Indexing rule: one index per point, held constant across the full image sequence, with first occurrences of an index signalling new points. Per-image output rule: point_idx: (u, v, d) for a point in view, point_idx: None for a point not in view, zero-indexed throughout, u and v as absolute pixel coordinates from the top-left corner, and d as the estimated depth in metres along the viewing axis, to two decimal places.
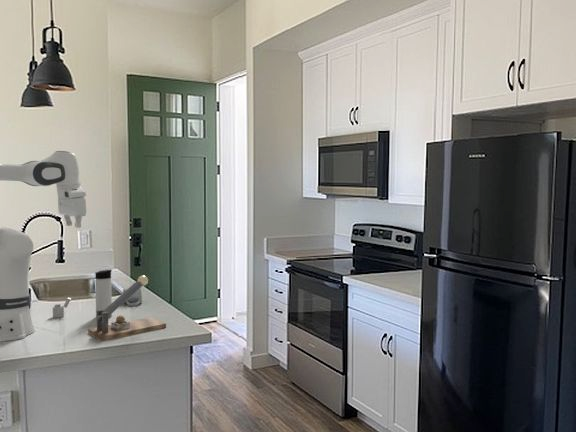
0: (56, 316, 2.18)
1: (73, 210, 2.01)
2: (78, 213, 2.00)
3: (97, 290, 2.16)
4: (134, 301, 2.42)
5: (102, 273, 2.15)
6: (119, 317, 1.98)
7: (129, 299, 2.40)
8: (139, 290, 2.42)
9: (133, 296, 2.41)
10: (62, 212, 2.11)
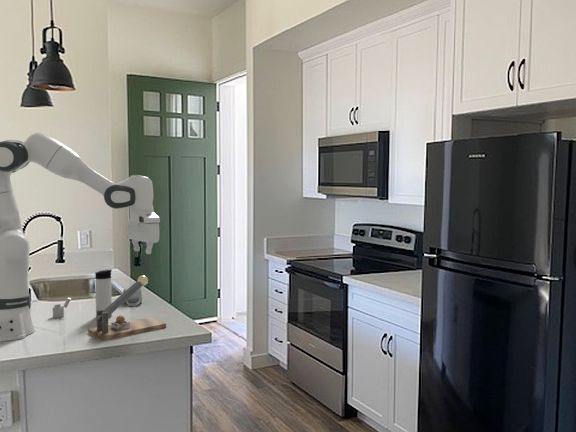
0: (56, 316, 2.18)
1: (146, 236, 1.97)
2: (152, 239, 1.95)
3: (97, 290, 2.16)
4: (134, 301, 2.41)
5: (102, 273, 2.15)
6: (119, 317, 1.98)
7: (129, 299, 2.40)
8: (139, 290, 2.42)
9: (133, 296, 2.40)
10: (131, 237, 2.06)
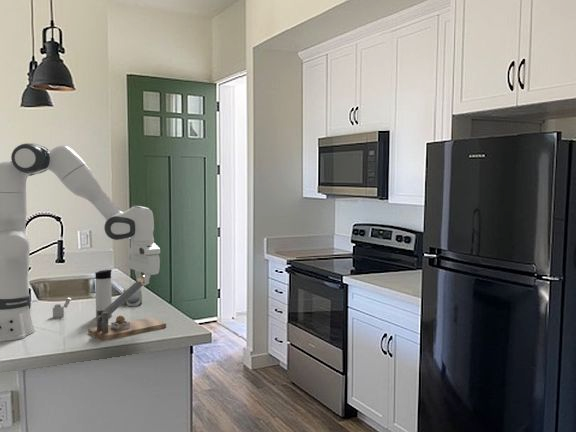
0: (56, 316, 2.18)
1: (146, 267, 1.98)
2: (152, 271, 1.96)
3: (97, 290, 2.16)
4: (134, 301, 2.41)
5: (102, 273, 2.15)
6: (119, 317, 1.98)
7: (129, 299, 2.40)
8: (139, 290, 2.42)
9: (133, 296, 2.40)
10: (131, 267, 2.07)
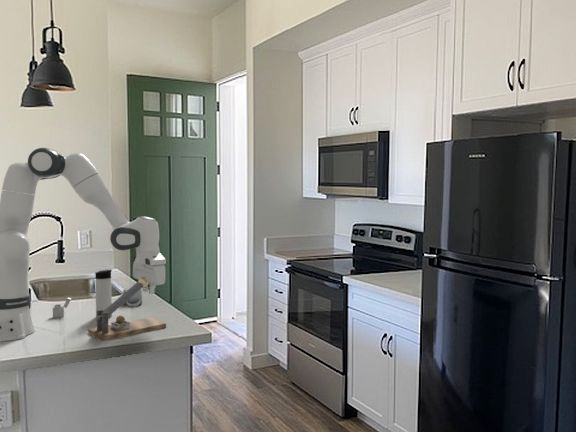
0: (56, 316, 2.18)
1: (152, 278, 1.99)
2: (158, 281, 1.98)
3: (97, 290, 2.16)
4: (134, 302, 2.41)
5: (102, 273, 2.15)
6: (119, 317, 1.98)
7: (129, 300, 2.39)
8: (139, 291, 2.41)
9: (133, 297, 2.40)
10: (137, 277, 2.09)
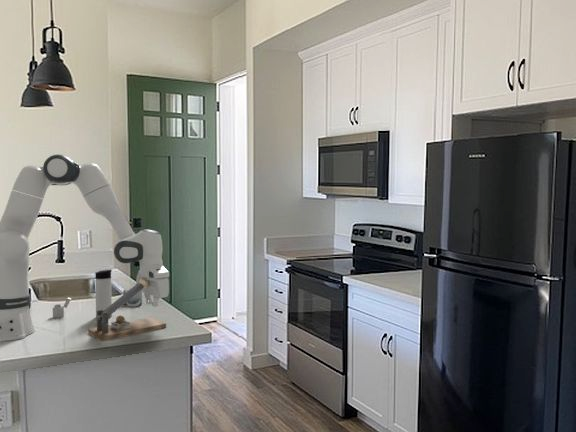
0: (56, 316, 2.18)
1: (156, 290, 2.01)
2: (161, 294, 1.99)
3: (97, 290, 2.16)
4: (134, 302, 2.40)
5: (102, 273, 2.15)
6: (119, 317, 1.98)
7: (129, 300, 2.39)
8: (139, 291, 2.41)
9: (133, 297, 2.39)
10: None
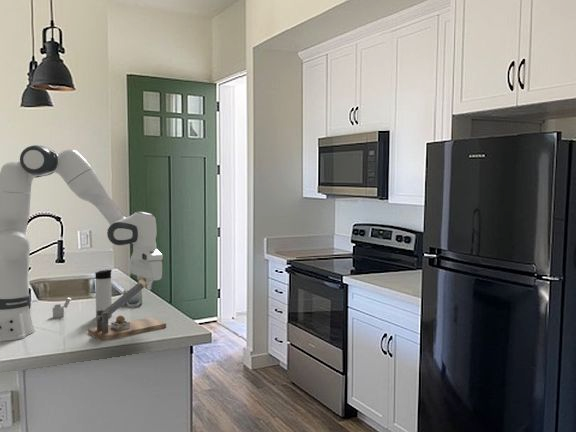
0: (56, 316, 2.18)
1: (149, 273, 1.98)
2: (154, 277, 1.97)
3: (97, 290, 2.16)
4: (134, 302, 2.40)
5: (102, 273, 2.15)
6: (119, 317, 1.98)
7: (129, 300, 2.38)
8: (139, 291, 2.40)
9: (133, 297, 2.38)
10: (134, 272, 2.07)
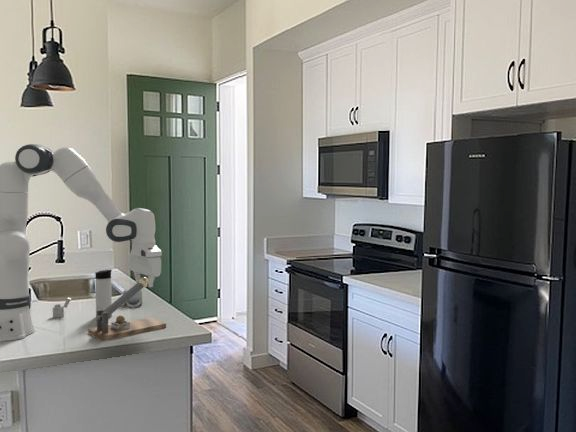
0: (56, 316, 2.18)
1: (148, 269, 1.98)
2: (153, 273, 1.96)
3: (97, 290, 2.16)
4: (134, 302, 2.39)
5: (102, 273, 2.15)
6: (119, 317, 1.98)
7: (129, 300, 2.38)
8: (139, 291, 2.40)
9: (133, 297, 2.38)
10: (133, 269, 2.07)
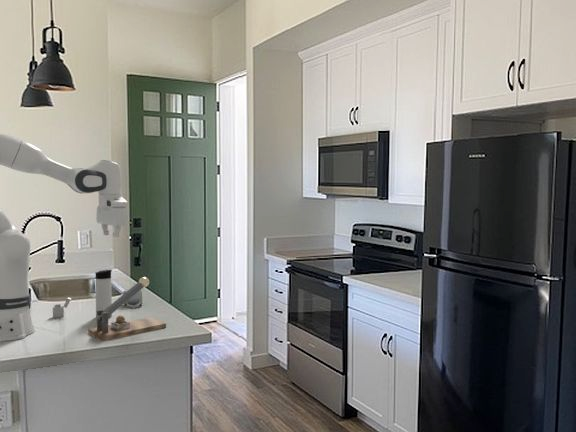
0: (56, 316, 2.18)
1: (113, 219, 2.02)
2: (118, 223, 2.00)
3: (97, 290, 2.16)
4: (134, 303, 2.39)
5: (102, 273, 2.15)
6: (119, 317, 1.98)
7: (129, 301, 2.37)
8: (140, 292, 2.39)
9: (133, 298, 2.37)
10: (100, 221, 2.11)
